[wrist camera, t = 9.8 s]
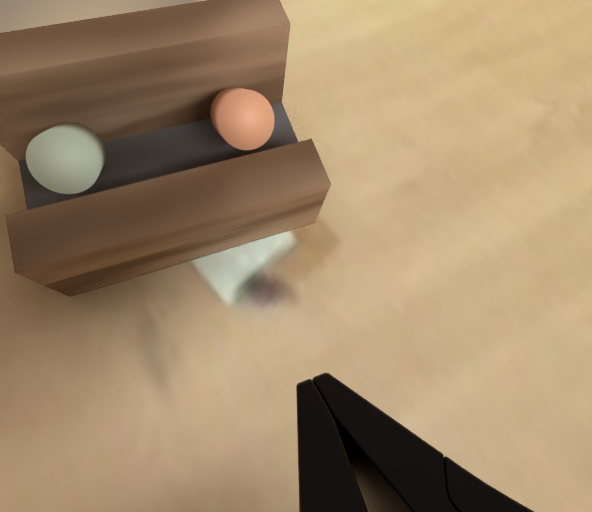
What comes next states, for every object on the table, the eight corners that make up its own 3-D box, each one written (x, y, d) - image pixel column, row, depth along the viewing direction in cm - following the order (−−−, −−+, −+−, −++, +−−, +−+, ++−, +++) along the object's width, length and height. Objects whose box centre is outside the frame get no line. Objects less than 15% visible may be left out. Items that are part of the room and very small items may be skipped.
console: (314, 222, 26) (346, 146, 17) (70, 296, 22) (-42, 247, 14) (267, 106, 28) (275, -11, 20) (41, 157, 25) (-68, 43, 16)
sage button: (123, 203, 21) (92, 162, 17) (66, 218, 20) (19, 179, 16) (107, 140, 22) (74, 86, 18) (52, 152, 21) (5, 100, 17)
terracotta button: (276, 163, 22) (282, 117, 18) (228, 176, 22) (223, 131, 18) (254, 107, 24) (255, 52, 20) (208, 117, 23) (198, 62, 19)
